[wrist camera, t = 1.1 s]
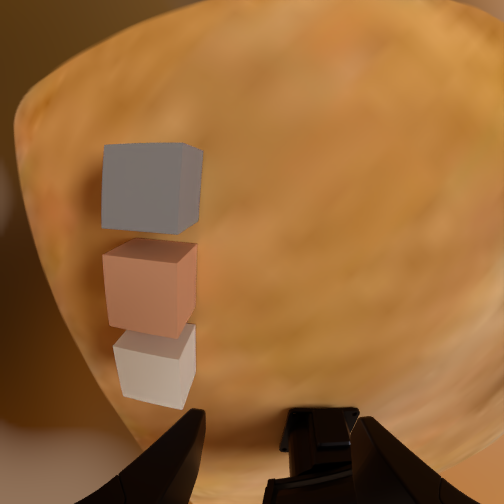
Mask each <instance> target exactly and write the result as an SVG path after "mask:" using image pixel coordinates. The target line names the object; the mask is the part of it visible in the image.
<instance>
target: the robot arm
mask: <svg viewBox="0 0 504 504" xmlns="http://www.w3.org/2000/svg"><path fill="white" fill-rule="evenodd" d="M294 413H296V414H294ZM359 414H360V412H359V409H358V408H333V409H305V408H293V409H291V410H289V413H288V417H287V420H286V424H285V428H284V432H283V435H282V439H281V442H280V446H279V450H280V451H281V452H289V469H290V477H288V478H282V479H268V483H267V487H266V488H265V493H264V498H263V503H262V504H480V503H478V502H476V501H475V500H473V499H471V498H470V497H468V496H467V495H465V494H464V493H462V492H461V491H459V490H458V489H456V488H455V487H454V486H452V485H451V484H450V483H449V482H447V481H446V480H445V479H444V478H441V476H440V475H439V474H438V473H436V472H435V471H434V470H433V469H432V468H430V467H429V466H428V465H427V464H426V463H424V462H423V461H422V460H421V459H420V458H419V457H417V456H416V455H415V454H414V453H413V452H412V451H410V450H409V449H408V448H407V447H406V446H405V445H403V444H402V443H401V442H400V441H399V440H398V439H397V438H396V437H394V436H393V435H392V434H391V433H390V432H389V431H388V430H386V429H385V428H384V427H383V426H382V425H381V424H380V423H379V422H378V421H376V420H375V419H374V418H373V417H371V416H366V417H360V418H358V416H359ZM357 418H358V420H357ZM356 420H357V422H356ZM355 423H356V424H355ZM354 425H355V426H354ZM353 427H354V428H353ZM352 429H353V430H352ZM205 431H206V414H205V411H204V410H202V409H196V408H192V409H190V410H189V411H188V412H187V413H186V414H185V415H184V416H183V417H181V418H180V419H179V420H178V421H177V422H176V423H175V424H174V425H173V426H172V427H171V428H170V429H169V430H168V431H167V432H165V433H164V434H163V435H162V436H161V437H160V438H159V439H158V440H157V441H156V442H154V443H153V444H152V445H151V446H150V447H149V448H148V449H147V450H146V451H144V452H143V453H142V454H141V455H140V456H139V457H138V458H136V459H135V460H134V461H133V462H132V463H131V464H130V465H128V466H127V467H126V468H125V469H124V470H122V471H121V472H120V473H119V476H118V475H116V476H115V477H114V478H112V479H111V480H110V481H109V482H108V483H106V484H105V485H103V486H102V487H101V488H99V489H98V490H97V491H95V492H94V493H92V494H90V495H89V496H87V497H85V498H84V499H82V500H80V501H78V502H76V503H74V504H188V502H189V499H190V496H191V493H192V490H193V487H194V484H195V481H196V478H197V475H198V471H199V466H200V460H201V454H202V449H203V443H204V437H205ZM351 431H352V432H351ZM350 433H351V435H350Z"/></svg>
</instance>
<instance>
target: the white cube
mask: <svg viewBox="0 0 504 504" xmlns="http://www.w3.org/2000/svg"><path fill="white" fill-rule="evenodd" d="M113 350H114V356H115V361H116V366H117V371H118V376H119V380H120V385H121V389H122V393H123V396H125V397H129V398H132V399H136V400H140V401H144V402H148V403H152V404H156V405H161V406H165V407H170V408H175V409H180V410H183V407H184V404H185V402H186V399H187V396H188V393H189V390H190V387H191V384H192V381H193V379H194V376H195V373H196V353H195V324H188V323H186V325H185V327H184V329H183V330H182V332H181V334H180V336H179V338H178V339H174V338H168V337H162V336H157V335H151V334H146V333H141V332H136V331H131V330H126V331H125V332H124V333H123V334H122V336H121V337H120V338H119V339H118V340H117V342H116V343H115V344H114V345H113Z"/></svg>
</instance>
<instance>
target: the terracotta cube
mask: <svg viewBox="0 0 504 504" xmlns="http://www.w3.org/2000/svg"><path fill="white" fill-rule="evenodd" d="M196 263H197V244H194V243H184V242H173V241H163V240H152V239H142V238H134V239H132V240H130V241H128V242H126V243H124V244H122V245H120V246H118V247H116V248H114V249H112V250H110V251H109V252H107V253H105V254H103V271H104V283H105V294H106V303H107V311H108V319H109V326H113V327H117V328H122V329H126V330H131V331H136V332H141V333H146V334H151V335H157V336H162V337H168V338H174V339H178V338H179V336H180V334H181V332H182V330H183V329H184V327H185V325H186V323H187V321H188V319H189V317H190V315H191V314H192V312H193V310H194V308H195V306H196Z"/></svg>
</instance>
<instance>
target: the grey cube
mask: <svg viewBox="0 0 504 504" xmlns="http://www.w3.org/2000/svg"><path fill="white" fill-rule="evenodd" d="M202 161H203V151H202V150H200V149H197V148H195V147H192V146H190V145H187V144H185V143H132V144H112V145H104V157H103V173H102V205H101V220H102V228H105V229H117V230H129V231H141V232H153V233H165V234H176V235H178V234H179V233H181V232H182V231H184V230H185V229H187V228H188V227H190V226H192V225H193V224H195V223H196V222H198V219H199V202H200V187H201V173H202Z"/></svg>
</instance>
